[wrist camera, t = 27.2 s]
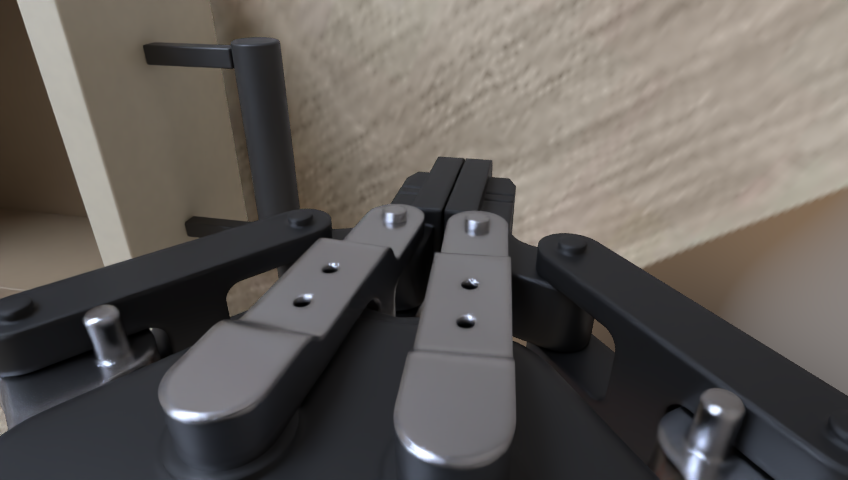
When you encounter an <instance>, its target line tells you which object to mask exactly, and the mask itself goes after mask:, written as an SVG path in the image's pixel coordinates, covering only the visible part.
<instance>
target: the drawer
mask: <svg viewBox="0 0 848 480" xmlns="http://www.w3.org/2000/svg"><path fill="white" fill-rule="evenodd" d="M221 68H223V69H233V68H234V69H235V75H236V81H237V87H238V94H239V100H240V106H241V112H242V118H243V125H244V131H245V137H246V143H247V149H248V156H249V162H250V168H251V174H252V180H253V187H254V193H255V199H256V205H257V211H258V218H259V220H261V219H264V218H267V217H271V216H274V215H277V214H281V213H284V212H287V211H291V210H297V209H300V206H299V198H298V189H297V181H296V172H295V164H294V156H293V147H292V139H291V130H290V122H289V114H288V105H287V97H286V88H285V80H284V72H283V63H282V55H281V46H280V41H279V40H278V39H275V38H268V37H252V38H241V39H236V40H234V41H232V42H231V45H217V40H216V34H215V28H214V22H213V17H212V11H211V5H210V0H0V299H1V298H4V297H7V296H10V295H13V294H16V293H20V292H23V291H26V290H30V289H33V288H36V287H40V286H43V285H46V284H49V283H53V282H56V281H59V280H63V279H66V278H69V277H73V276H76V275H79V274H82V273H86V272H89V271H92V270H96V269H99V268H102V267H106V266H109V265H112V264H115V263H119V262H122V261H125V260H129V259H132V258H135V257H139V256H142V255H145V254H149V253H152V252H155V251H158V250H162V249H165V248H168V247H172V246H175V245H178V244H182V243H185V242H188V241H191V240H195V239H198V238H201V237H205V236H208V235H211V234H215V233H218V232H221V231H224V230H228V229H231V228H234V227H238V226H241V225H244V224H248V223H251V222H248V220H247V214H246V208H245V202H244V196H243V191H242V185H241V179H240V173H239V167H238V162H237V156H236V150H235V144H234V138H233V133H232V127H231V121H230V115H229V109H228V104H227V98H226V92H225V86H224V80H223V75H222V69H221ZM149 329H150V330H151V331H152V328H149Z"/></svg>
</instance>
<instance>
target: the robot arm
mask: <svg viewBox="0 0 848 480" xmlns="http://www.w3.org/2000/svg"><path fill="white" fill-rule="evenodd" d="M515 191H516V186H515V185H514V184H513V182H512V181H511V180H510V179H508V178H495V177H492V160H481V159H467V158H466V160H465V159H464V158H452V157H438V158H437V160H436V162H435V164H434V165H433V167H432V169H431V171H430V173H429V172H417V173H415V174H413V175H412V176H410V177H408V178H407V179H406V180H405V182H404V184H403V185H402V187H401V188H400V190H399V191H398V193H397V195H396V196H395V198H394V199H393V201H392V202H391V204H387V205H382V206H378V207H375V208H373V209H371V210H370V211H368V212H367V213H366V215H365V216H364V217H363V218H362V219H361V220H360V221H359V222H358V223H357V225H356V226H355V227H354V228H346V229H332V222H331V217H330V215H329V214H327V213H326V212H323V211H321V210H316V209H297V210H291V211H287V212H284V213H281V214H277V215H274V216H271V217H267V218H264V219H261V220H257V221H254V222H251V223H248V224H244V225H241V226H238V227H234V228H231V229H228V230H224V231H221V232H218V233H215V234H211V235H208V236H205V237H201V238H198V239H195V240H191V241H188V242H185V243H182V244H178V245H175V246H172V247H168V248H165V249H162V250H158V251H155V252H152V253H149V254H145V255H142V256H139V257H135V258H132V259H129V260H125V261H122V262H119V263H115V264H112V265H109V266H106V267H102V268H99V269H96V270H92V271H89V272H86V273H82V274H79V275H76V276H73V277H69V278H66V279H63V280H59V281H56V282H53V283H49V284H46V285H43V286H40V287H36V288H33V289H30V290H26V291H23V292H20V293H16V294H13V295H10V296H7V297H4V298H1V299H0V405H1V407H2V409H3V411H4V413H5V416H6V421H7V426H8V431H7V432H5V433H4V434H2V435H1V436H0V480H848V396H847V395H845V394H844V393H842V392H840V391H839V390H837V389H835V388H834V387H832V386H830V385H829V384H827V383H826V382H824V381H823V380H821V379H819V378H818V377H816V376H814V375H813V374H811V373H810V372H808V371H806V370H805V369H803V368H801V367H800V366H798V365H797V364H795V363H793V362H792V361H790V360H788V359H787V358H785V357H783V356H782V355H780V354H779V353H777V352H775V351H774V350H772V349H771V348H769V347H767V346H765V345H764V344H762V343H761V342H759V341H758V340H756V339H754V338H753V337H751V336H749V335H748V334H746V333H745V332H743V331H741V330H740V329H738V328H736V327H735V326H733V325H732V324H730V323H728V322H727V321H725V320H723V319H722V318H720V317H719V316H717V315H715V314H714V313H712V312H710V311H709V310H707V309H706V308H704V307H702V306H701V305H699V304H698V303H696V302H694V301H693V300H691V299H689V298H688V297H686V296H684V295H683V294H681V293H680V292H678V291H676V290H675V289H673V288H671V287H670V286H668V285H667V284H665V283H663V282H662V281H660V280H659V279H657V278H655V277H654V276H652V275H650V274H649V273H647V272H645V271H644V270H642V269H641V268H639V267H637V266H636V265H634V264H633V263H631V262H629V261H628V260H626V259H625V258H623V257H621V256H620V255H618V254H616V253H615V252H613V251H612V250H610V249H608V248H607V247H605V246H603V245H602V244H600V243H599V242H597V241H595V240H593V239H591V238H588V237H585V236H582V235H577V234H569V233H559V234H552V235H549V236H546V237H544V238H542V239H541V240H540V241H539V243H538V247H535V246H531V245H528V244H526V243H523V242H521V241H519V240H518V239H516V238H515V237H514V236H513V235H512V225H513V214H514V202H515ZM275 268H277V270H278V277H279V279H278V280H277V281H276V282H275V283H274V284H273V285H272V287H271V288H270V289H269V290H268V291H267V292H266V293H265V294H264V295H263V296H262V297H261V298H260V299H259V300H258V301H257V302H256V303H255V304H254V305H253V306H252V307H251V308H250V309H249V310H247V311H245V312H242V313H240V314H237V315H235V316H232V317H230V316H229V311H228V306H227V301H226V297H227V293H228V291H229V290H230V288H231V287H232V286H233V285H234V284H236V283H237V282H239V281H242V280H244V279H247V278H250V277H253V276H255V275H258V274H261V273H264V272H266V271H269V270H272V269H275ZM594 319H596V320H597V321H598V322H600V323H601V324H602V325H603V326H604V327H606V328H607V330H608V331H609V332H610V334H611V335H612V337H613V340H614V343H615V353H614V352H613V351H612V350H611V349H610V348H608V347H607V346H606V345H605V344H604V343H602V342H601V341H600V340H599V339H597V338H596V337H595V336H594V335H593V334H591V333H592V328H593V323H594ZM149 328H152V331H151V330H150V329H149ZM512 336H513V337H516V338H519V339H521V340H524V341H527V345H526V347H525V346H523V345H521V344H519V343H517V342H514V341H512Z"/></svg>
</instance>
